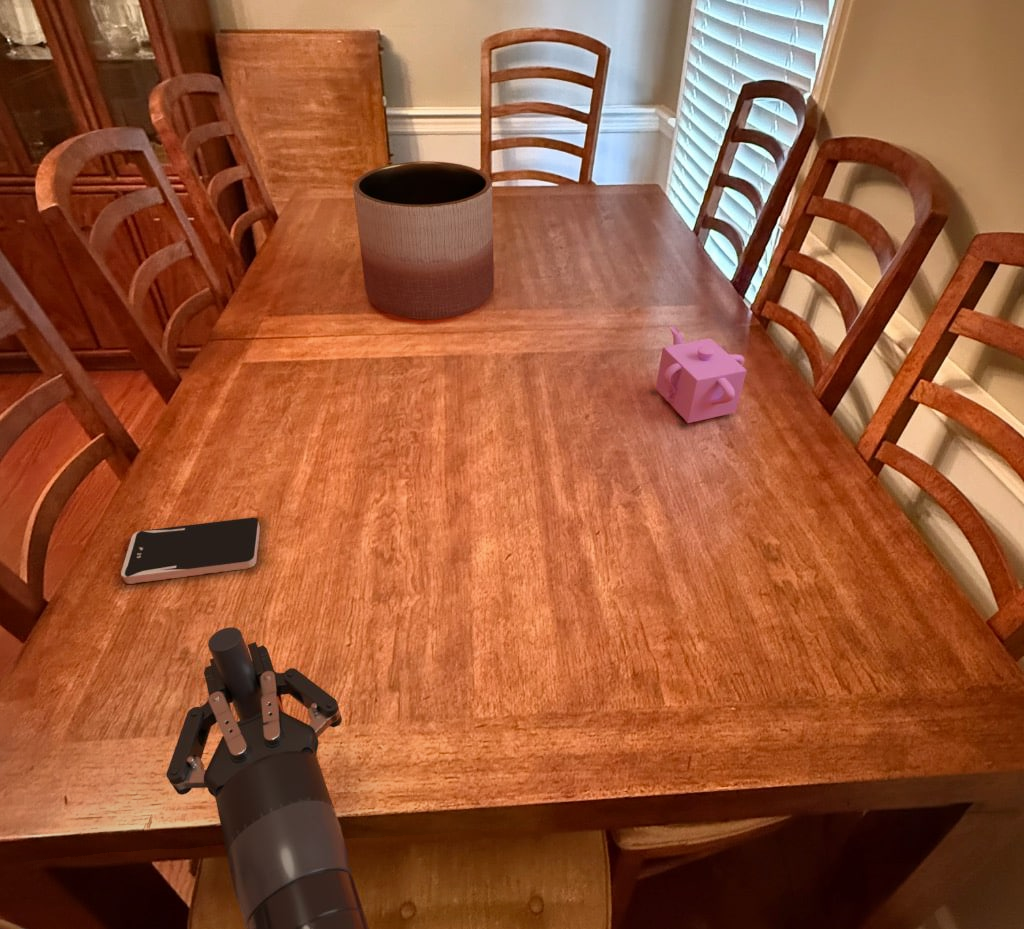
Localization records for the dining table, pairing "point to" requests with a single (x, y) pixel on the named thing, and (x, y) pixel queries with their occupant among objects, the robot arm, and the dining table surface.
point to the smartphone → (191, 550)
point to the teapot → (700, 378)
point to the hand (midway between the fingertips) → (235, 656)
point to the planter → (426, 238)
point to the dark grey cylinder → (237, 671)
